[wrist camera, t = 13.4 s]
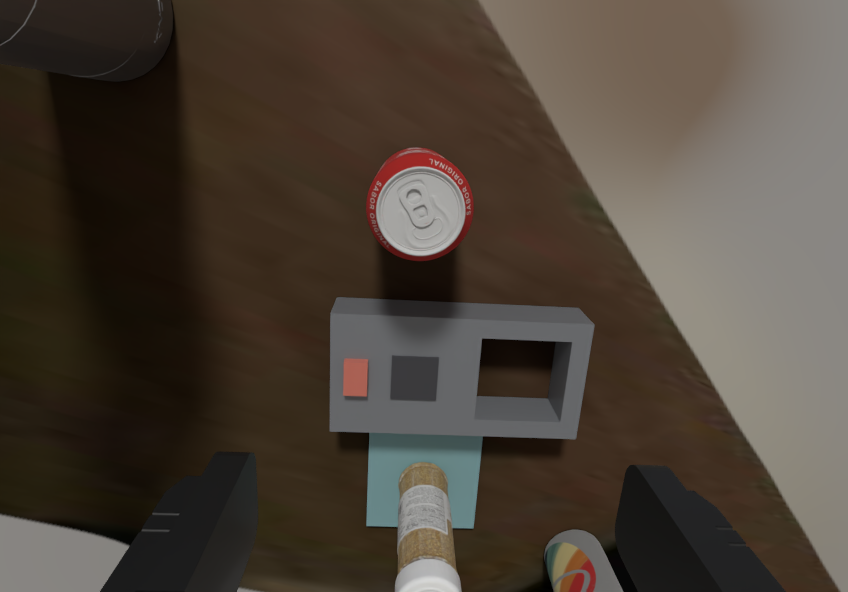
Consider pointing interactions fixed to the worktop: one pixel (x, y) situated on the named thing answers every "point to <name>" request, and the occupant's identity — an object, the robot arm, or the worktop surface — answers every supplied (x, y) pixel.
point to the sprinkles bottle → (425, 532)
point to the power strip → (449, 368)
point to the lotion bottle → (579, 564)
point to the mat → (406, 449)
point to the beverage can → (419, 205)
